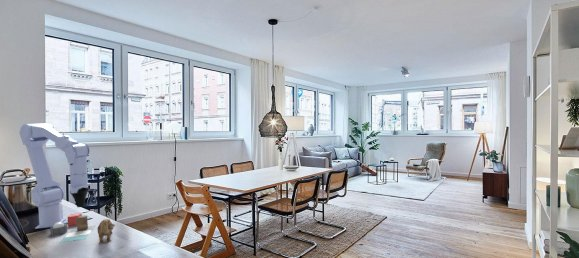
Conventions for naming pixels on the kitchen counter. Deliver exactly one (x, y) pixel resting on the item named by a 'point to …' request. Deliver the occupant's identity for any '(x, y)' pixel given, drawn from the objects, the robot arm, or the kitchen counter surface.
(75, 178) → the robot arm
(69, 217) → the red die
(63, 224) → the dome cap
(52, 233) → the dome housing
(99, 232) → the lion figurine
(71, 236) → the game track
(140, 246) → the kitchen counter surface
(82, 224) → the walnut pawn
